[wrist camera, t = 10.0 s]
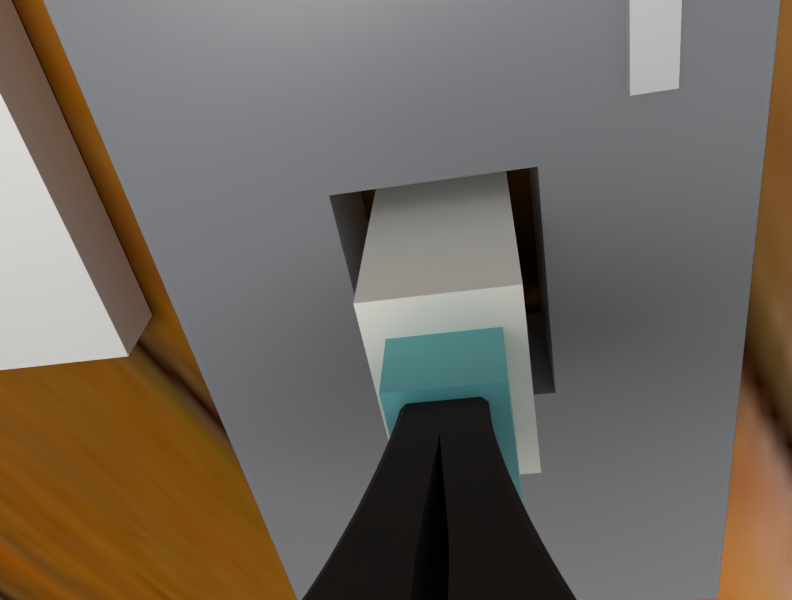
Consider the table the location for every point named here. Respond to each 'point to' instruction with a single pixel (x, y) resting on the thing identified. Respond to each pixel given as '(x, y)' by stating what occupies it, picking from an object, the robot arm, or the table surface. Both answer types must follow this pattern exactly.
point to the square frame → (54, 230)
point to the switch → (445, 159)
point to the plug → (449, 306)
